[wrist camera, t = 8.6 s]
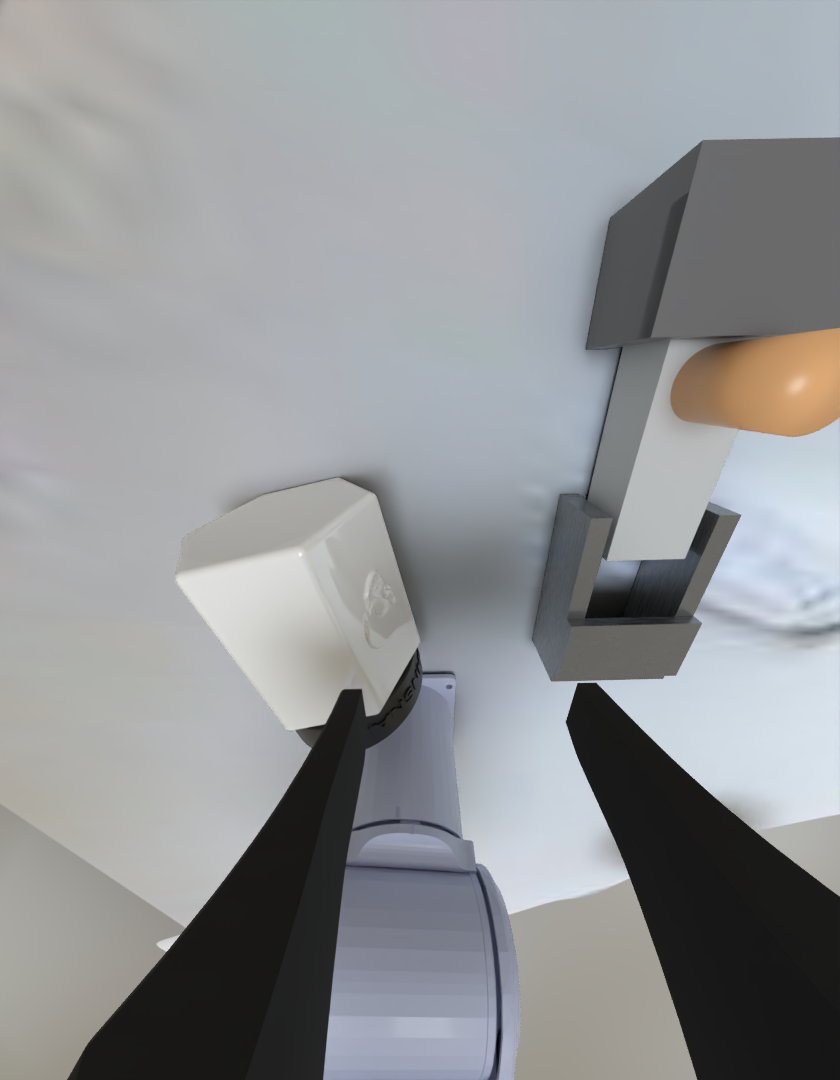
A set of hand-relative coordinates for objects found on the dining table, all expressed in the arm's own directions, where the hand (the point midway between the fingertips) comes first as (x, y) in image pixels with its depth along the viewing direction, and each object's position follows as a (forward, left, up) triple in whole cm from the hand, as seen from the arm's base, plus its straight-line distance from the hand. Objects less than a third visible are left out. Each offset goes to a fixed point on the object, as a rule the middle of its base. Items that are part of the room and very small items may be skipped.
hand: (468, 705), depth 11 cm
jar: (+5, +8, -6) cm, 11 cm away
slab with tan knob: (+8, -10, -10) cm, 16 cm away
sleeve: (-1, -10, -10) cm, 14 cm away
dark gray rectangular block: (+14, -10, -10) cm, 20 cm away
